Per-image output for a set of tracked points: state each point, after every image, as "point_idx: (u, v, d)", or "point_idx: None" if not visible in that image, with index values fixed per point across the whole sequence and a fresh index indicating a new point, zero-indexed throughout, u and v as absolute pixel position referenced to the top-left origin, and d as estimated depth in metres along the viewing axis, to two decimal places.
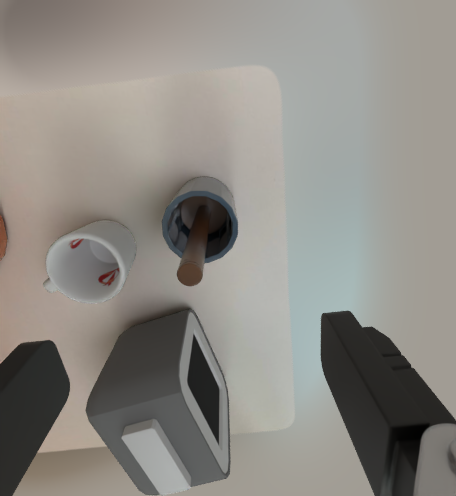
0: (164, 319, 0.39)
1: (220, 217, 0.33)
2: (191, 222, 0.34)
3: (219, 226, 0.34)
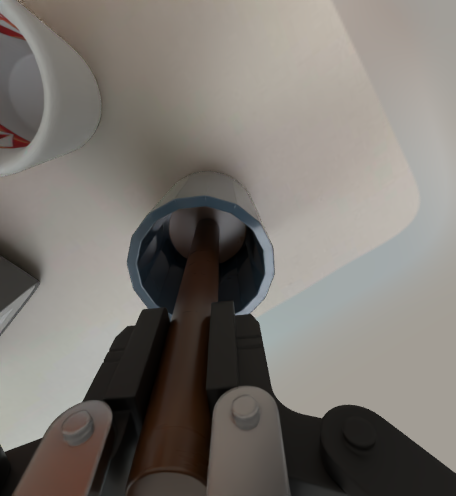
0: None
1: None
2: (181, 220, 0.20)
3: None
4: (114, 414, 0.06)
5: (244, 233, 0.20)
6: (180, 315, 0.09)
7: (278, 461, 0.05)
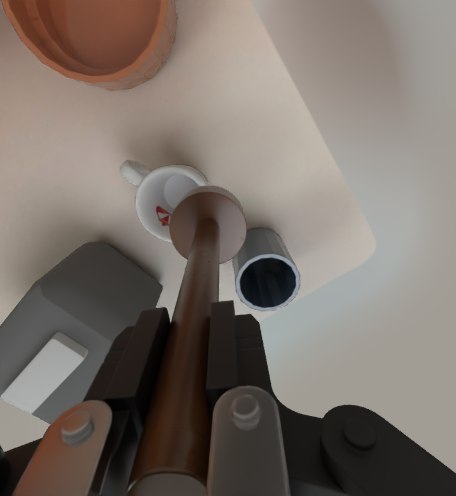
0: (142, 273, 0.38)
1: None
2: (181, 220, 0.20)
3: None
4: (114, 414, 0.06)
5: (244, 233, 0.20)
6: (181, 316, 0.09)
7: (278, 461, 0.05)
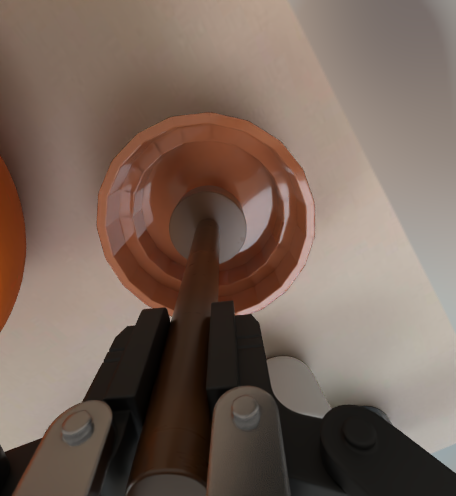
0: None
1: None
2: (181, 220, 0.20)
3: None
4: (114, 414, 0.06)
5: (244, 234, 0.20)
6: (180, 316, 0.09)
7: (278, 461, 0.05)
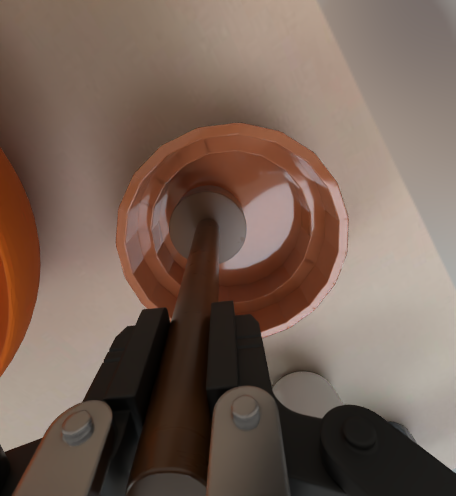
0: None
1: None
2: (181, 220, 0.20)
3: None
4: (114, 414, 0.06)
5: (244, 233, 0.20)
6: (180, 315, 0.09)
7: (278, 461, 0.05)
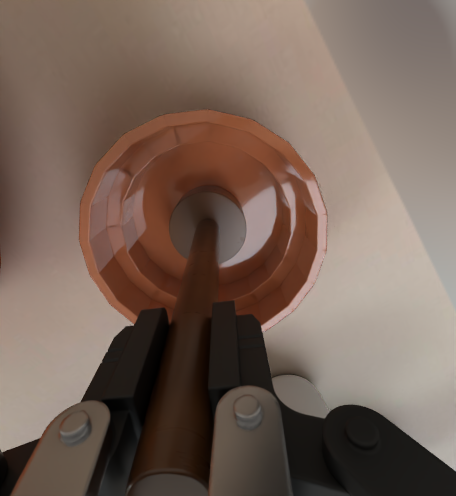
0: None
1: None
2: (181, 220, 0.20)
3: None
4: (112, 414, 0.06)
5: (244, 233, 0.20)
6: (180, 316, 0.09)
7: (280, 461, 0.05)
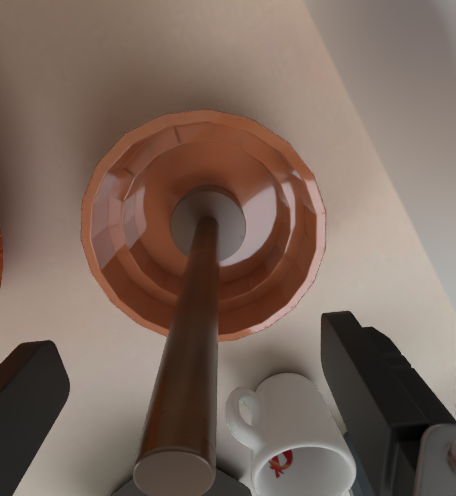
0: (230, 488, 0.31)
1: None
2: (182, 219, 0.20)
3: None
4: None
5: (244, 232, 0.20)
6: (182, 309, 0.10)
7: None
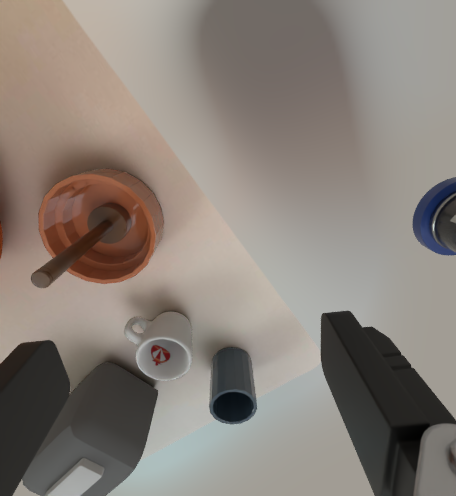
0: (141, 385, 0.50)
1: (111, 239, 0.40)
2: (93, 220, 0.39)
3: (104, 242, 0.41)
4: None
5: (125, 227, 0.40)
6: (62, 251, 0.29)
7: None
